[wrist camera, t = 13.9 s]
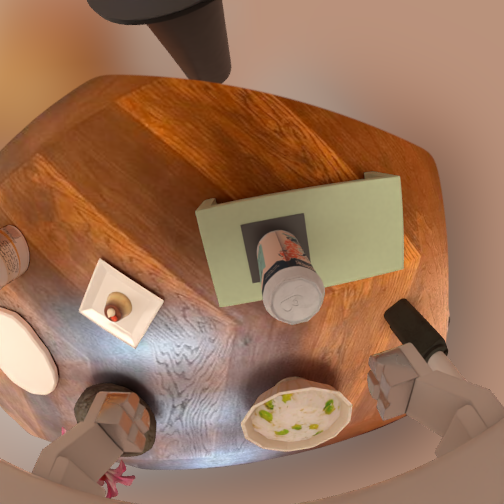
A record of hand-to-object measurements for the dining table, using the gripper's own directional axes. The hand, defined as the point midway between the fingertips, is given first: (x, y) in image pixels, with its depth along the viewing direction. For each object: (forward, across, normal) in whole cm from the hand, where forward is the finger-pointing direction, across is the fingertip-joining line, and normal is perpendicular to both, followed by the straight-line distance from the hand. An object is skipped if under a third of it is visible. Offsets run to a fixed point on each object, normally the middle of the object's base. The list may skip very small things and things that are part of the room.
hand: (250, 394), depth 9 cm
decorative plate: (+32, +59, +20) cm, 70 cm away
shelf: (+32, -7, +4) cm, 33 cm away
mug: (+32, +45, -3) cm, 55 cm away
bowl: (+31, -2, +35) cm, 47 cm away
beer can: (+24, -3, +4) cm, 24 cm away
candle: (+31, -23, +23) cm, 45 cm away
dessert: (+32, +23, +11) cm, 41 cm away
